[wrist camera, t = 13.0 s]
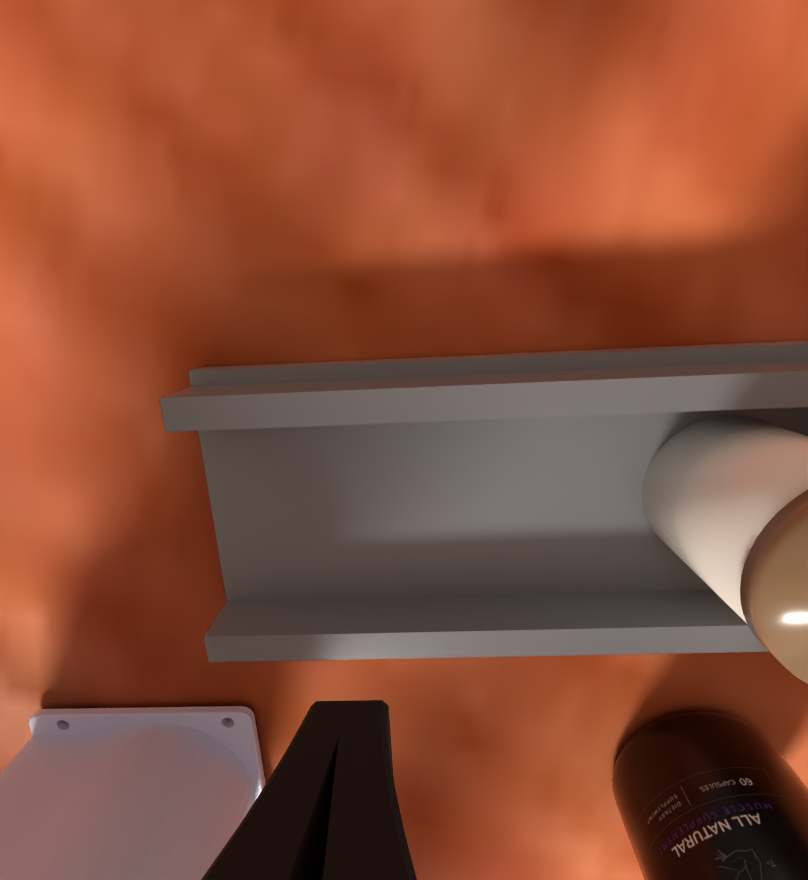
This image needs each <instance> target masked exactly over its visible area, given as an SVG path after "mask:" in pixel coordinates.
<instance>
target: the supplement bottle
mask: <svg viewBox="0 0 808 880" xmlns="http://www.w3.org/2000/svg"><path fill="white" fill-rule="evenodd" d="M613 792H614V796H615V800H616V803H617V806H618V809H619V811H620V814H621V817H622V820H623V823H624V826H625V828H626V831H627V834H628V836H629V839H630V842H631V844H632V847H633V850H634V852H635V855H636V858H637V860H638V863H639V866H640V868H641V871H642V874H643V876H644V879H645V880H808V788H807V787H806V786H805V784H804V783H803V782H802V781H801V779H800V778H799V777H798V775H797V774H796V773H795V772H794V770H793V769H792V768H791V766H790V765H789V764H788V763H787V762H786V760H785V759H784V758H783V757H782V755H781V754H780V753H779V752H778V750H777V749H776V748H775V747H774V745H773V744H772V743H771V742H770V741H769V740H768V739H767V738H766V737H765V736H764V735H763V734H762V733H761V732H760V731H758V730H757V729H755V728H754V727H753V726H751V725H749V724H747V723H746V722H744V721H741V720H739V719H737V718H734V717H731V716H728V715H724V714H720V713H714V712H702V711H700V712H685V713H679V714H674V715H670V716H667V717H664V718H662V719H659V720H657V721H655V722H653V723H651V724H649V725H647V726H646V727H644V728H643V729H641V730H640V731H638V732H637V733H636V734H635V735H634V736H633V737H632V738H631V739H630V740H629V741H628V742H627V743H626V745H625V746H624V747H623V749H622V750H621V752H620V754H619V756H618V758H617V760H616V763H615V766H614V771H613Z"/></svg>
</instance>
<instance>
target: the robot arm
mask: <svg viewBox="0 0 808 880" xmlns="http://www.w3.org/2000/svg"><path fill="white" fill-rule="evenodd" d="M228 718H230V719H232V720H229V719H228ZM29 726H30V729H31V732H32V735H33V737H32V738H31V739H30V740H29V741H28V742H27V744H26V745H25V746H24V747H23V748H22V749H21V750H20V751H19V753H18V754H17V755H16V756H15V757H14V758H13V759H12V760H11V762H10V763H9V764H8V765H7V766H6V767H5V768H4V769H3V771H2V772H1V773H0V880H417V879H416V875H415V871H414V867H413V864H412V860H411V856H410V853H409V849H408V845H407V841H406V837H405V833H404V828H403V824H402V819H401V814H400V810H399V805H398V800H397V796H396V791H395V786H394V780H393V765H392V751H391V736H390V722H389V707H388V705H387V704H386V703H385V702H383V701H382V700H372V701H316V702H315V703H314V704H313V705H312V706H311V707H310V709H309V711H308V713H307V715H306V717H305V718H304V720H303V722H302V724H301V726H300V728H299V729H298V731H297V733H296V735H295V736H294V738H293V740H292V742H291V743H290V745H289V747H288V749H287V750H286V752H285V754H284V755H283V757H282V759H281V760H280V762H279V764H278V765H277V767H276V769H275V770H274V772H273V774H272V775H271V777H270V778H269V780H268V781H267V783H266V784H265V778H264V771H263V765H262V759H261V753H260V747H259V740H258V734H257V728H256V722H255V716H254V713H253V711H252V710H251V709H250V708H247V707H245V706H212V707H145V708H78V709H41V710H38V711H37V712H35V713H34V715H33V716H32V717H31V718H30V720H29Z"/></svg>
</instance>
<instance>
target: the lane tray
mask: <svg viewBox="0 0 808 880" xmlns="http://www.w3.org/2000/svg"><path fill="white" fill-rule="evenodd" d="M188 374H189V380H190V386H191V387H188V388H185V389H183V390H180V391H177V392H174V393H172V394H169V395H166V396H164V397H161V398H159V401H160V406H161V412H162V417H163V422H164V428H165V432H179V431H198V434H199V439H200V445H201V451H202V457H203V463H204V469H205V475H206V481H207V487H208V493H209V499H210V505H211V511H212V517H213V523H214V529H215V535H216V541H217V547H218V553H219V559H220V565H221V570H222V576H223V582H224V588H225V594H226V600H227V601H226V603H225V604H224V606H223V607H222V609H221V611H220V612H219V614H218V615H217V617H216V618H215V620H214V621H213V623H212V625H211V626H210V628H209V629H208V631H207V632H206V634H205V635H204V642H205V647H206V652H207V658H208V662H247V661H301V660H354V659H407V658H460V657H513V656H566V655H619V654H672V653H725V652H769V651H768V650H767V649H766V648H765V647H764V646H763V645H762V644H761V643H760V642H759V641H758V639H757V638H756V637H755V636H754V635H753V633H752V631H751V630H750V628H749V626H748V625H747V623H746V622H745V621H744V620H743V619H742V618H741V617H740V616H739V615H738V614H737V613H736V612H735V611H733V610H732V609H731V608H730V607H729V606H728V605H727V604H726V603H725V602H724V601H723V600H722V599H721V598H720V597H719V596H718V595H717V594H716V593H715V592H714V591H713V590H712V589H711V588H710V587H709V586H708V585H707V584H706V583H705V582H704V581H703V580H702V579H701V578H700V577H699V576H698V575H697V574H696V573H695V572H694V571H693V570H692V569H691V568H690V567H689V566H688V565H687V564H686V563H685V562H684V561H683V560H682V559H681V558H680V557H679V556H678V555H676V554H675V553H674V552H673V551H672V550H671V549H670V548H669V547H668V546H667V545H666V544H665V543H664V542H663V541H662V540H661V539H660V538H659V537H658V536H657V535H656V533H655V532H654V531H653V530H652V528H651V527H650V525H649V524H648V522H647V519H646V517H645V514H644V510H643V506H642V486H643V480H644V477H645V474H646V471H647V469H648V467H649V465H650V462H651V461H652V459H653V458H654V456H655V454H656V453H657V452H658V451H659V449H660V448H661V447H662V446H663V445H664V444H665V443H666V442H667V441H668V440H669V439H670V438H671V437H672V436H673V435H675V434H676V433H677V432H679V431H680V430H682V429H683V428H685V427H687V426H688V425H691V424H693V423H695V422H697V421H700V420H703V419H706V418H709V417H714V416H719V415H743V416H749V417H753V418H756V419H759V420H762V421H765V422H768V423H770V424H773V425H776V426H779V427H782V428H785V429H788V430H791V431H794V432H796V433H799V434H802V435H805V436H808V340H798V341H775V342H753V343H730V344H708V345H686V346H663V347H641V348H618V349H596V350H574V351H551V352H529V353H507V354H484V355H462V356H439V357H417V358H395V359H372V360H350V361H327V362H305V363H283V364H260V365H238V366H216V367H200V368H197V369H193V370H190V371H188Z"/></svg>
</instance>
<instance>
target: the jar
mask: <svg viewBox="0 0 808 880" xmlns="http://www.w3.org/2000/svg"><path fill="white" fill-rule="evenodd" d="M642 506H643V510H644V514H645V517H646V519H647V522H648V524H649V525H650V527H651V528H652V530H653V531H654V532H655V533H656V535H657V536H658V537H659V538H660V539H661V540H662V541H663V542H664V543H665V544H666V545H667V546H668V547H669V548H670V549H671V550H672V551H673V552H674V553H675V554H676V555H678V556H679V557H680V558H681V559H682V560H683V561H684V562H685V563H686V564H687V565H688V566H689V567H690V568H691V569H692V570H693V571H694V572H695V573H696V574H697V575H698V576H699V577H700V578H701V579H702V580H703V581H704V582H705V583H706V584H707V585H708V586H709V587H710V588H711V589H712V590H713V591H714V592H715V593H716V594H717V595H718V596H719V597H720V598H721V599H722V600H723V601H724V602H725V603H726V604H727V605H728V606H729V607H730V608H731V609H732V610H733V611H735V612H736V613H737V614H738V615H739V616H740V617H741V618H742V619H743V620H744V621H745V622H746V623H747V625H748V626H749V628H750V630H751V631H752V633H753V635H754V636H755V637H756V638H757V639H758V641H759V642H760V643H761V644H762V645H763V646H764V647H765V648H766V649H767V650H768V651H769V652H770V653H771V654H772V655H773V656H774V657H775V658H776V659H777V660H778V661H779V662H780V663H781V664H782V665H783V666H784V667H785V668H786V669H787V670H788V671H790V672H791V673H792V674H793V675H794V676H795V677H797V678H799V679H800V680H802V681H803V682H805V683H807V684H808V436H805V435H802V434H799V433H796V432H794V431H791V430H788V429H785V428H782V427H779V426H776V425H773V424H770V423H768V422H765V421H762V420H759V419H756V418H753V417H749V416H743V415H719V416H714V417H709V418H706V419H703V420H700V421H697V422H695V423H693V424H691V425H688V426H687V427H685V428H683V429H682V430H680V431H679V432H677V433H676V434H675V435H673V436H672V437H671V438H670V439H669V440H668V441H667V442H666V443H665V444H664V445H663V446H662V447H661V448H660V449H659V451H658V452H657V453H656V454H655V456H654V458H653V459H652V461H651V462H650V465H649V467H648V469H647V471H646V474H645V477H644V480H643V486H642Z"/></svg>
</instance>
